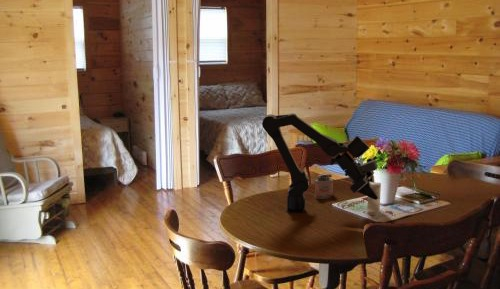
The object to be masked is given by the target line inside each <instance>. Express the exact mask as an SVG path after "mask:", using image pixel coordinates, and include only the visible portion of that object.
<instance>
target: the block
mask: <svg viewBox="0 0 500 289" xmlns="http://www.w3.org/2000/svg"><path fill="white" fill-rule="evenodd" d="M370 187H371V188H372V190H373V191H374V193H375V194H376V196H377V197H378V199H376V200H375V199H373V198H370V197H368V196H367V208H366V210H367V213H372V214H378V213H379V212H380V211H381V193H382V192H381V190H382V189H381V188H382V183H381V182H375V181H373V182H370ZM372 214H371V215H372Z"/></svg>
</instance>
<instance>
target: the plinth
mask: <svg viewBox="0 0 500 289" xmlns="http://www.w3.org/2000/svg"><path fill="white" fill-rule="evenodd" d="M382 213H383V210H380V212H379V213H378V214H372V213H367V209H365V211H364V212H363V214H364V215H374V216H382Z"/></svg>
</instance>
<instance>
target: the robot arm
mask: <svg viewBox="0 0 500 289" xmlns="http://www.w3.org/2000/svg"><path fill="white" fill-rule="evenodd" d="M261 125H262V128H263V129H264V131H265V132H266V134H267V135H268V136H269V137H270V138H271V139H272V140H273V143H274V144H275V147H276V148H277V150H278V152H279V154H280V156H281V158H282V160H283V162H284V164H285V166H286V168H287V170H288V172H289V176H290V180H291V184H290V185H289V186H288V190H287V195H286V196H287V198H286V212H288V213H289V212H292V213H304V210H306V197H305V193H306V192H307V191H308V189H309V187H310V186H309V185H310V184H309V182H310V177H309V175H307V172H306V169H305V168H302V169H301V168H300V167H299V166H298V164H297V161H296V159H295V158H294V156H293V153H292V152H291V149H290V147H289V146H288V143H287V142H286V140H285V138H284V136H283V134H282V129H281V128H283V127H287V126H292V127H293V128H295V129H296V130H298V131H299V132H301V133H302V134H303V135H305V136H306V137H307V138H309V139H311V140H312V141H313V142H314V143H315V144H317V145H318V146H319V148H320V149H321V150H322V151H323V152H324V153H325V154H326V155H328V157H330V165H331V166H333V165H334V164H336V165H338V167H340V169H341V170H342V171H343V172H344V175H345V177H347V176H348V178H349V179H350V180H351V181H352V182H351V185H350V186H349V187H350V188H349V189H350V190H349V191H351V192H352V194H355V193H358V194H361V195H363V196H366V197H367V198H368V197H370V198H373V199H375V200H376V199H378V197H377V196H376V194H375V193H374V191H373V190H372V188H371V187H370V182H374V177H375V176H374V174H375V172H374V171H377V170H378V168H379V166H378V164H377V163H378V162H377V160H375V159H373V158H371V157H369V158H367V159H366V162H364V163H362V164H361V163H360V162H357V161H355V160H354V159H356V158H357V159H360V157H362V156H363V155H364V154H365V153H367V152H368V151H369V150H370V147H369V145H368V144H367V143H366V142H365V141H364V140H363V139H361V138H360V137H359V136H358V135H355V136H354V137H353V139H352V140H351V141H349V142H348V143H345V142H344V143H343V142H339V141H338V140H337V139H334V138H332V137H330V136H328V135H325V134H324V133H321V132H320V131H318V130H317V129H315V128H314V127H313V126H312V125H310V124H309V123H307V122H306V121H304V120H303V119H302V118H300V117H299V116H298V115H297V114H296V113H293V112H291V113H287V114H279V115H275V114H273V113H272V114H271V113H270V114H267V115H265V116H264V118H263V119H262V122H261Z"/></svg>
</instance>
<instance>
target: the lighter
mask: <svg viewBox="0 0 500 289" xmlns="http://www.w3.org/2000/svg"><path fill="white" fill-rule="evenodd" d="M314 183H315V184H314V188H315V189H314V191H315V192H314V199H318V200H319V199H321V200H322V199H323V200H324V199H330V198H331V197H332V196H333V194H334V192H333V189H334V186H333V185H334V179H332V173H328V174H327V173H326V174H324V173H322V174H319V175H317V179H315V180H314Z"/></svg>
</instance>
